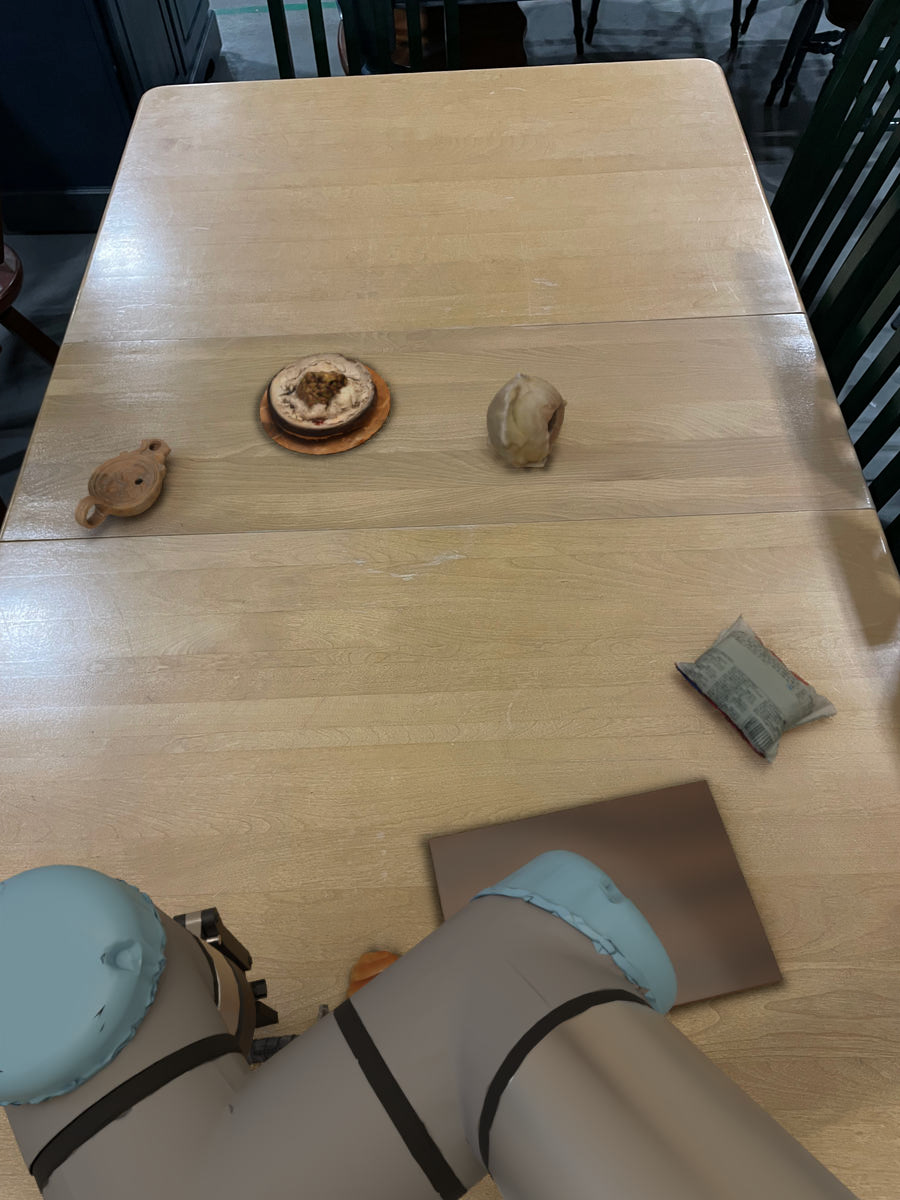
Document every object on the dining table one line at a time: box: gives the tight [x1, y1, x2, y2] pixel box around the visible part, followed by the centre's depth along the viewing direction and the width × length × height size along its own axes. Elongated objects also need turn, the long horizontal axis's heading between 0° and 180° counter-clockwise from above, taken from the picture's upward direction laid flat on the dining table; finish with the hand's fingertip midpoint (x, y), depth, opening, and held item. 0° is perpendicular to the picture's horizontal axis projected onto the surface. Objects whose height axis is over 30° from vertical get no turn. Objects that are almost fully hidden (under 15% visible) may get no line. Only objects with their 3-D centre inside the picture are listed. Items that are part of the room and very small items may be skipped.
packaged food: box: [674, 613, 838, 765], centre depth 75 cm, size 9×12×5 cm
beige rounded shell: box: [486, 372, 568, 468], centre depth 90 cm, size 9×8×10 cm
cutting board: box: [427, 779, 784, 1009], centre depth 67 cm, size 16×24×1 cm, turn 102°
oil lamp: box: [74, 438, 172, 530], centre depth 89 cm, size 13×8×5 cm, turn 150°
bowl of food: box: [259, 352, 391, 456], centre depth 96 cm, size 15×15×4 cm
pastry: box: [345, 950, 401, 1000], centre depth 62 cm, size 9×7×4 cm
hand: (262, 1055), depth 61 cm, fingers closed on knife, 4 cm apart
